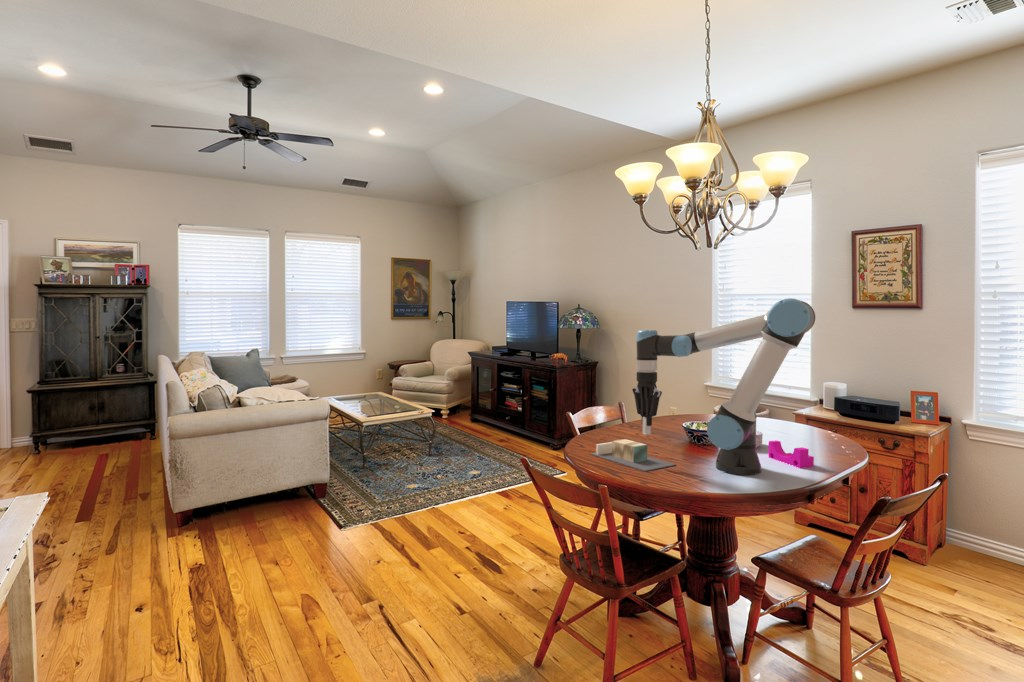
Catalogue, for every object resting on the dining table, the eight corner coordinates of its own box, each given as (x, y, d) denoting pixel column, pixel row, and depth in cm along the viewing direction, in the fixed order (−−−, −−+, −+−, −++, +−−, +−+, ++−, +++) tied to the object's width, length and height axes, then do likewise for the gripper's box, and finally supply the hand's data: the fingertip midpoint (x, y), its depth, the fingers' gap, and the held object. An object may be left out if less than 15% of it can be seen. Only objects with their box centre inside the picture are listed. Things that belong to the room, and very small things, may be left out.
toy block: (813, 469, 192) (813, 448, 192) (800, 470, 191) (800, 449, 190) (781, 459, 207) (781, 440, 206) (768, 460, 205) (768, 441, 205)
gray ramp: (675, 465, 196) (675, 464, 196) (644, 471, 188) (644, 470, 188) (619, 449, 222) (619, 448, 222) (590, 454, 214) (590, 453, 214)
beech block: (647, 444, 203) (625, 439, 213) (633, 446, 199) (612, 440, 209) (647, 460, 203) (625, 453, 213) (633, 462, 199) (612, 456, 209)
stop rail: (624, 450, 219) (624, 440, 218) (598, 454, 211) (598, 444, 211) (622, 450, 220) (622, 440, 219) (596, 454, 212) (596, 444, 212)
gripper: (667, 372, 194) (667, 436, 194) (641, 369, 205) (641, 430, 206) (652, 373, 190) (652, 438, 191) (627, 370, 201) (626, 432, 202)
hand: (646, 434), depth 198 cm, fingers closed
